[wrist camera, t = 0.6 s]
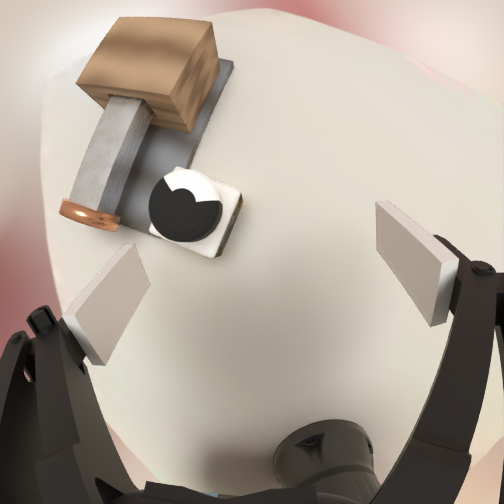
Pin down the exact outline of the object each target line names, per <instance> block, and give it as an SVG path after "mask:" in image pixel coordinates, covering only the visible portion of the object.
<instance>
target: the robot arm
mask: <svg viewBox="0 0 504 504" xmlns="http://www.w3.org/2000/svg"><path fill="white" fill-rule="evenodd" d="M375 205H376V247H377V251H378V252H379V254H380V255H381V256H382V258H383V259H384V260H385V262H386V263H387V264H388V266H389V267H390V269H391V270H392V271H393V273H394V274H395V275H396V277H397V278H398V280H399V281H400V283H401V284H402V285H403V287H404V288H405V290H406V291H407V293H408V294H409V296H410V297H411V299H412V300H413V302H414V303H415V305H416V306H417V308H418V309H419V311H420V312H421V314H422V315H423V317H424V318H425V320H426V322H427V323H428V325H429V326H430V327H432V326H436V325H439V324H442V323H445V322H446V320H447V316H448V312H449V310H450V311H451V313H452V314H453V315H454V318H453V322H452V326H451V329H450V332H449V336H448V340H447V343H446V347H445V350H444V353H443V356H442V359H441V362H440V365H439V368H438V371H437V374H436V377H435V379H434V382H433V385H432V387H431V390H430V392H429V395H428V397H427V400H426V402H425V404H424V407H423V409H422V411H421V414H420V416H419V418H418V420H417V422H416V424H415V426H414V429H413V431H412V433H411V435H410V437H409V439H408V441H407V443H406V444H405V446H404V448H403V450H402V452H401V454H400V456H399V457H398V459H397V461H396V463H395V464H394V466H393V468H392V469H391V471H390V473H389V474H388V476H387V478H386V479H385V481H384V482H383V484H382V485H380V483H379V481H378V479H377V477H376V475H375V474H374V470H373V447H372V443H371V440H370V439H369V437H368V435H367V434H366V432H365V431H364V429H363V428H361V427H360V426H359V425H357V424H355V423H352V422H349V421H344V420H328V421H322V422H317V423H314V424H311V425H308V426H306V427H303V428H301V429H299V430H297V431H296V432H294V433H293V434H291V435H290V436H288V437H287V438H286V439H285V440H284V441H283V442H282V443H281V444H280V446H279V447H278V448H277V450H276V452H275V455H274V460H273V463H274V472H275V476H276V478H277V480H278V482H279V483H280V484H281V485H282V487H283V489H269V490H265V491H262V492H257V493H253V494H249V495H244V496H232V495H222V494H219V493H217V492H216V493H202V492H197V491H194V490H191V489H188V488H185V487H183V486H175V485H168V484H161V483H154V482H149V481H146V485H145V489H144V490H139V489H138V488H137V487H136V486H135V485H134V484H133V482H132V481H131V479H130V477H129V475H128V473H127V471H126V469H125V467H124V465H123V463H122V461H121V459H120V456H119V454H118V452H117V450H116V448H115V445H114V443H113V441H112V438H111V436H110V434H109V431H108V429H107V426H106V423H105V421H104V418H103V415H102V413H101V410H100V407H99V404H98V401H97V398H96V395H95V392H94V389H93V386H92V383H91V379H90V376H89V373H88V369H87V367H86V365H85V364H84V362H83V360H84V358H85V356H87V357H88V359H89V360H90V362H91V363H92V365H102V366H105V365H106V364H107V362H108V360H109V358H110V356H111V354H112V352H113V350H114V348H115V346H116V345H117V343H118V341H119V339H120V337H121V335H122V333H123V332H124V330H125V328H126V326H127V324H128V323H129V321H130V319H131V317H132V315H133V314H134V312H135V310H136V308H137V307H138V305H139V303H140V301H141V300H142V298H143V296H144V295H145V293H146V291H147V290H148V288H149V286H150V282H149V280H148V277H147V275H146V272H145V270H144V267H143V264H142V262H141V259H140V257H139V254H138V251H137V248H136V246H135V243H132V244H127V245H123V246H122V247H121V248H120V249H119V250H118V252H117V253H116V254H115V255H114V256H113V257H112V258H111V259H110V260H109V261H108V262H107V263H106V265H105V266H104V267H103V268H102V269H101V270H100V271H99V272H98V273H97V275H96V276H95V277H94V278H93V279H92V280H91V281H90V283H89V284H88V285H87V286H86V287H85V288H84V290H83V291H82V292H81V293H80V294H79V295H78V297H77V298H76V299H75V300H74V301H73V303H72V304H71V305H70V306H69V308H68V309H67V310H66V311H65V313H64V314H63V315H62V318H61V319H60V320H59V321H58V322H57V320H56V318H55V316H54V315H53V313H52V311H51V310H50V308H49V306H47V305H45V306H41V307H39V308H37V309H36V310H34V311H33V312H32V313H31V314H30V315H29V316H28V317H27V323H28V324H29V326H30V327H31V329H32V331H33V332H34V334H35V335H36V337H35V338H32V339H30V338H29V337H28V335H27V333H26V332H25V331H19V332H16V333H14V334H13V335H12V336H11V338H10V339H9V340H8V342H7V344H6V347H5V349H4V352H3V354H2V357H1V359H0V504H454V502H455V500H456V498H457V496H458V493H459V491H460V489H461V487H462V484H463V482H464V480H465V477H466V475H467V472H468V470H469V466H470V463H471V456H472V455H471V454H469V448H470V444H471V441H472V438H473V435H474V432H475V428H476V425H477V422H478V418H479V414H480V411H481V407H482V403H483V398H484V394H485V389H486V385H487V379H488V374H489V368H490V362H491V355H492V348H493V339H494V329H495V332H496V337H497V342H498V348H499V354H500V361H501V369H502V378H503V389H504V273H496V271H495V269H494V268H493V267H492V266H491V265H490V264H488V263H486V262H483V261H470V260H469V259H468V258H467V257H466V256H465V255H464V254H462V253H461V252H460V251H459V250H457V248H456V247H454V246H453V245H452V244H451V243H450V242H449V241H447V240H446V239H445V238H442V237H440V236H438V235H431V234H430V233H429V232H428V231H427V230H426V229H424V228H423V227H422V226H421V225H420V224H418V223H417V222H416V221H415V220H413V219H412V218H411V217H410V216H408V215H407V214H406V213H405V212H403V211H402V210H401V209H399V208H398V207H397V206H396V205H394V204H393V203H392V202H390V201H389V200H385V201H378V202H375ZM24 371H25V372H26V374H27V375H28V376H29V378H30V382H28V380H27V379H26V377H25V375H24ZM499 504H504V463H503V473H502V481H501V489H500V498H499Z"/></svg>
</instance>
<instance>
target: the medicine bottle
mask: <svg viewBox="0 0 504 504" xmlns="http://www.w3.org/2000/svg"><path fill="white" fill-rule="evenodd" d="M242 204H243V199H242V194H241V191H240V190H239V189H237V188H235V187H232V186H230V185H227V184H225V183H222V182H219V181H217V180H214V179H212V178H209V177H207V176H206V175H204V174H202V173H201V172H198V171H196V170H191V169H185V168H182V167H178V166H177V167H175V168H174V171H173V172H171V173H169V174H167V175H165V176H164V177H163V178H162V179H160V180H159V182H158V183H157V184H156V185H155V187H154V188H153V190H152V192H151V195H150V199H149V205H148V209H149V216H150V220H151V222H152V223H151V225H150V228H149V231H150V233H152V234H154V235H156V236H159V237H161V238H163V239H166V240H168V241H170V242H172V243H175V244H177V245H179V246H182V247H184V248H186V249H189V250H191V251H194V252H196V253H198V254H201V255H203V256H205V257H208V258H211V259H212V258H215V257H218V256H221V254H222V252H223V250H224V247H225V245H226V243H227V240H228V238H229V235H230V233H231V231H232V228H233V226H234V223H235V221H236V219H237V216H238V214H239V211H240V209H241V207H242Z"/></svg>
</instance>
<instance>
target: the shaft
mask: <svg viewBox="0 0 504 504" xmlns="http://www.w3.org/2000/svg"><path fill="white" fill-rule="evenodd" d="M153 116H154V112H153V110H152V109H151V108H150V106H149V105H148V104H147V102H146V101H145V100H144V99H140V98H134V97H128V96H121V95H114V94H113V95H112V97H111V99H110V101H109V102H108V104H107V106H106V108H105V110H104V113H103V115H102V117H101V119H100V121H99V123H98V125H97V127H96V130H95V132H94V134H93V136H92V139H91V141H90V144H89V146H88V148H87V151H86V153H85V156H84V158H83V161H82V164H81V166H80V169H79V172H78V174H77V177H76V180H75V183H74V186H73V189H72V192H71V195H70V198H69V199H63V200H62V204H61V207H60V210H59V214H61V215H62V216H64V217H66V218H69V219H71V220H74V221H76V222H79V223H82V224H85V225H88V226H92V227H95V228H99V229H103V230H108V231H117V228H118V225H119V222H120V219H121V217H120V216H118V215H115V211H116V208H117V205H118V202H119V199H120V196H121V194H122V191H123V188H124V185H125V182H126V180H127V177H128V174H129V172H130V169H131V167H132V164H133V162H134V159H135V157H136V154H137V152H138V149H139V147H140V145H141V142H142V140H143V138H144V135H145V133H146V131H147V129H148V126H149V124H150V122H151V120H152V118H153Z"/></svg>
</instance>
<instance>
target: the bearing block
mask: <svg viewBox="0 0 504 504" xmlns="http://www.w3.org/2000/svg"><path fill="white" fill-rule="evenodd" d="M233 68H234V65H233V61H230V60H225V59H221V58H218V53H217V48H216V42H215V37H214V31H213V26H212V22H207V21H199V20H190V19H179V18H178V19H177V18H163V17H119V18H118V20H117V21H116V22H115V24H114V25H113V26H112V28H111V29H110V30H109V32H108V33H107V34H106V36H105V37H104V39H103V40H102V42H101V43H100V45H99V46H98V48H97V49H96V51H95V52H94V54H93V55H92V57H91V58H90V60H89V62H88V63H87V65H86V66H85V68H84V70H83V72H82V73H81V75H80V77H79V78H78V80H77V82H76V84H77V85H78V86H79V87H80V88H81V89H82V90H83V91H84V92H86V93H87V94H88V95H89V96H90V97H91V98H92V99H93V100H94V101H96V102H97V103H98V104H99V105H100V106H101V107H102V108H103V109H104V110H105V108H106V106H107V104H108V102H109V101H110V99H111V97H112V95H113V94H114V95H121V96H128V97H134V98H140V99H144V100H145V101H146V102H147V104H148V105H149V106H150V108H151V109H152V110H153V112H154V116H153V118H152V120H151V122H150V124H149V126H148V129H147V131H146V133H145V135H144V138H143V140H142V142H141V145H140V147H139V149H138V152H137V154H136V157H135V159H134V162H133V164H132V167H131V169H130V172H129V174H128V177H127V180H126V182H125V185H124V188H123V191H122V194H121V196H120V199H119V202H118V205H117V208H116V211H115V215H118V216H120V217H121V219H120V222H119V224H122V225H125V226H127V227H130V228H133V229H136V230H138V231H141V232H144V233H147V234H149V235H152V236H155V237H158V238H161V237H159V236H156V235H154V234H152V233H150V231H149V228H150V225H151V223H152V222H151V220H150V216H149V209H148V205H149V199H150V195H151V192H152V190H153V188H154V187H155V185H156V184H157V183H158V182H159V180H160V179H162V178H163V177H164V176H165V175H167V174H169V173H171V172H173V171H174V168H175V167H177V166H178V167H182V168H185V169H189V167H190V164H191V162H192V159H193V157H194V154H195V152H196V149H197V147H198V144H199V142H200V140H201V137H202V135H203V133H204V130H205V128H206V126H207V123H208V121H209V119H210V116H211V114H212V112H213V110H214V107H215V105H216V103H217V101H218V99H219V97H220V94H221V92H222V90H223V88H224V86H225V84H226V82H227V80H228V78H229V76H230V74H231V72H232V70H233ZM161 239H163V238H161Z"/></svg>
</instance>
